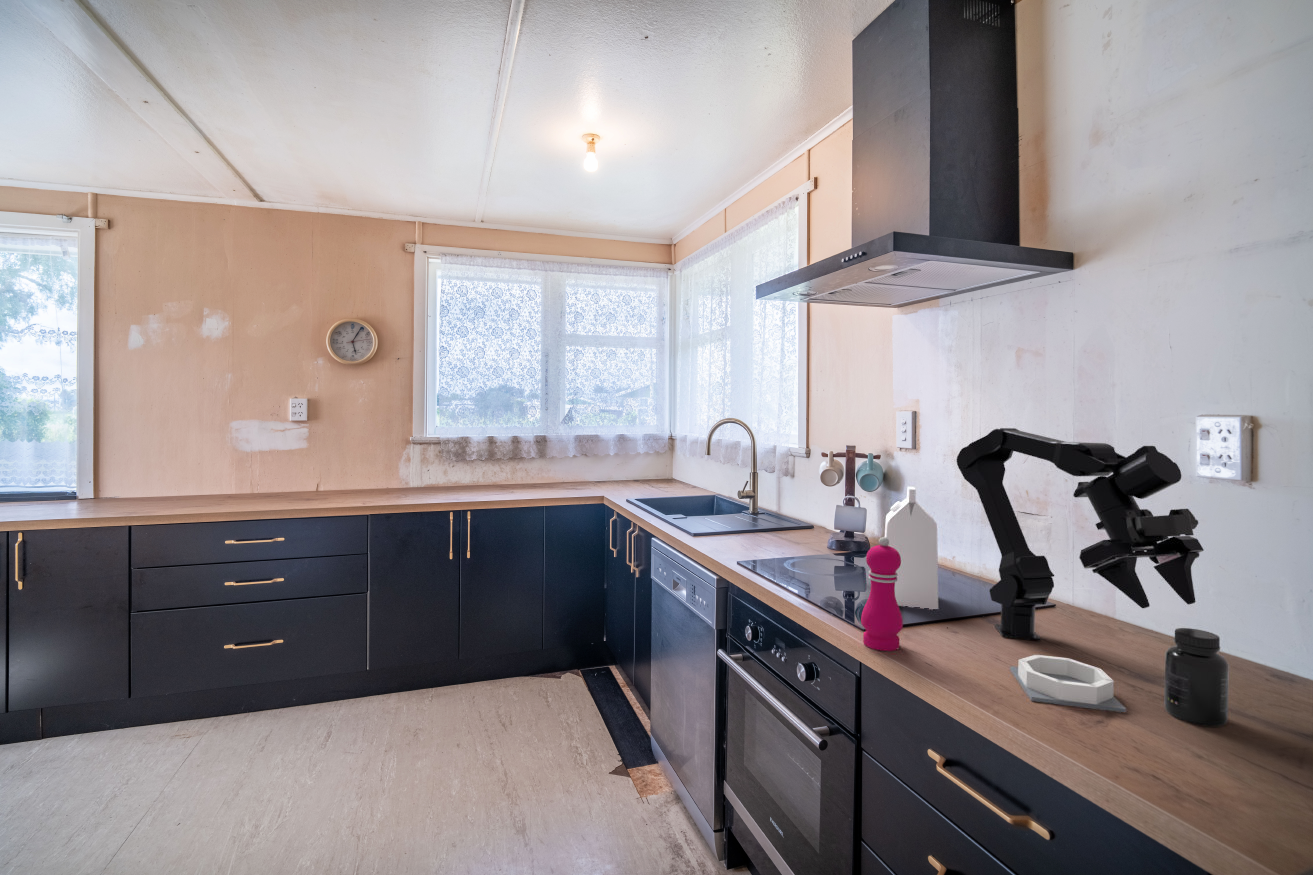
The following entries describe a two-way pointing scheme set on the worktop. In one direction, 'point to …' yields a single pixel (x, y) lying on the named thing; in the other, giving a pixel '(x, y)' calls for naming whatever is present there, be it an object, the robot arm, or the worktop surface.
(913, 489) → the milk
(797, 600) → the worktop surface
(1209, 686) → the supplement bottle
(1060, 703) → the collar seat
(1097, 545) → the robot arm
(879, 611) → the pepper mill
